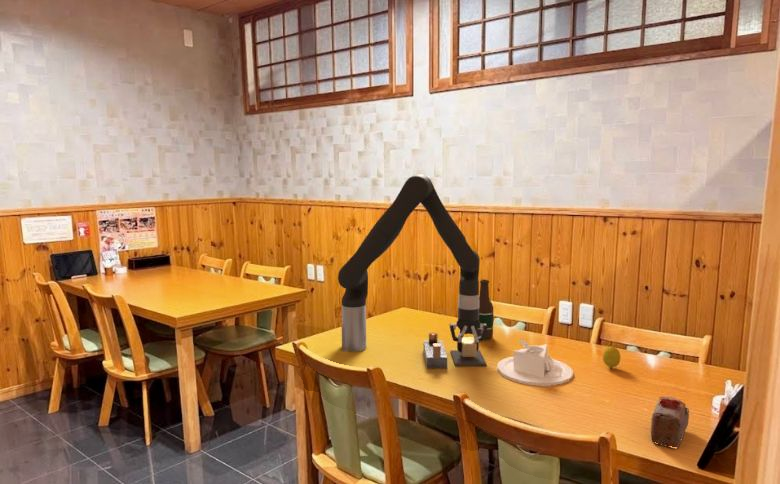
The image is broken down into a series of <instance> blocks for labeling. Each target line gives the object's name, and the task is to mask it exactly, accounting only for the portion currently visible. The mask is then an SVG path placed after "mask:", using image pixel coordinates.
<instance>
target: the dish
mask: <svg viewBox="0 0 780 484" xmlns="http://www.w3.org/2000/svg"><path fill="white" fill-rule="evenodd" d="M519 342H520V344H521V346H523V347H524V348H521V349H515V350H513V356H508V357H505V358H503V359H501V360H500V361H498V362H497V372H498V373H499V374H500V375H501V377H504V378H506V379H508V380H509V381H513V382H516V383H519V384H522V385H528V386H537V387H539V386H540V387H551V385H553V386H558V385H557V384H560V385H563V384H562V383H564V382H566V383H567V381H568V382H570V381H571V380H572V379H573V377H574V372H573V369H572V368H571V367H570V366H569V365H568V364H566V363H565V362H562V361H559V360H557V359H554V358H552V357H551V356H550V355H548V343H545V344H541V345H535V344H533V345H529V343H528V342H527V341H525V339H519ZM571 378H572V379H571ZM570 379H571V380H570ZM569 380H570V381H569ZM564 384H565V383H564Z"/></svg>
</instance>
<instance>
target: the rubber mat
mask: <svg viewBox="0 0 780 484" xmlns="http://www.w3.org/2000/svg"><path fill="white" fill-rule="evenodd" d="M449 353H450V355H451V358H452V361H453V365H454V366H455V367H487V365H488V364H487V362H486V360H485V358H484V356H483V354H482V352H481V350H480V349H479V350H478V351H477V354H476V357H462V354H461V352H459V351H458V349H455V350H452V349H451V350H450V352H449Z"/></svg>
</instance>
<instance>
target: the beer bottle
mask: <svg viewBox="0 0 780 484" xmlns="http://www.w3.org/2000/svg"><path fill="white" fill-rule="evenodd" d="M489 285H490V281H489V279H480V280H479V322H480V323H482V324H484V323H485V324H486V325H487V326H488V328H487V331H486V335H485V338H484V341H490V340H492V338H493V336H494V305H493V302H492V301H491V299H490V290H489V289H490V288H489ZM476 333H477V336H478V337H480V334H481V327H479V328H478V329H477V330H476Z"/></svg>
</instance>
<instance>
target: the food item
mask: <svg viewBox="0 0 780 484" xmlns="http://www.w3.org/2000/svg"><path fill="white" fill-rule="evenodd" d="M651 416H652V417H651V421H650V422H651V425H650V438H651V442H652V443H653V442H654V443H653V444H655V442H656V443H658V444H662V445H666V446H672V447H677V449H678V448H679V447H680V444H681V443H682V441H681V439H683V438H684V434H685V433H686V430H687V429H688V426H689V420H690V419H689V418H690V410H689V407H687V406H686V403H685V402H684V401H681V399H678V398H675V397H672V396H659V398H658V401H657V402H656V405H655V407H654V410H653V413H652V415H651Z"/></svg>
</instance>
